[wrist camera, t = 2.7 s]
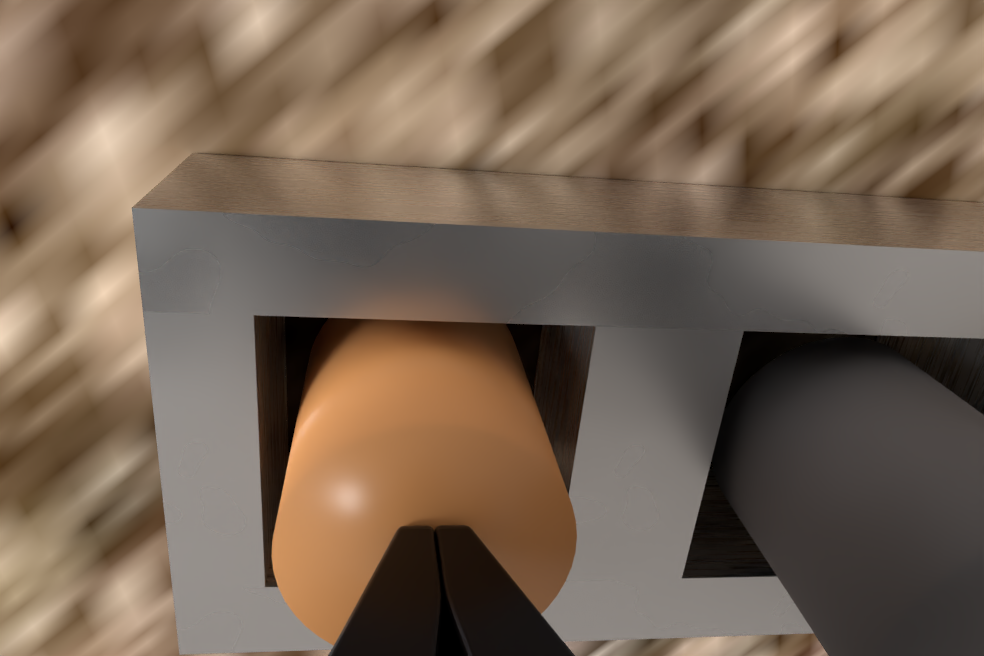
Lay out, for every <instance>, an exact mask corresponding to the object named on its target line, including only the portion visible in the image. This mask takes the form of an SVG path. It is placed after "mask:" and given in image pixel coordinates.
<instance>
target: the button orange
mask: <svg viewBox="0 0 984 656" xmlns="http://www.w3.org/2000/svg"><path fill="white" fill-rule="evenodd" d="M426 525H428V526H431V527H432V528H433V530H434V531H435V529H436V527H438V526H440V525H466V526H469V527H470V528H472V529H473V531H474V532H475V533H476V534H477V536H478V537H479V538H480V539H481V541H482V542H483V543H484V544H485V546H486V547H487V548H488V549H489V550H490V552H491V553H492V554H493V555H494V557H495V558H496V559H497V560H498V562H499V563H500V564H501V565H502V567H503V568H504V569H505V570H506V571H507V573H508V574H509V575H510V576H511V578H512V579H513V580H514V581H515V583H516V584H517V585H518V586H519V587H520V589H521V590H522V591H523V592H524V594H525V595H526V596H527V597H528V599H529V600H530V601H531V602H532V604H533V605H534V606H535V607H536V608H537V610H538V611H539V612H540V613H541V614H542V613H543V612H544V611H545V610H546V609H547V608H548V606H549V605H550V604H551V603H552V601H553V600H554V599H555V598H556V596H557V595H558V593H559V592H560V590H561V588H562V587H563V585H564V583H565V582H566V579H567V577H568V575H569V572H570V570H571V567H572V564H573V560H574V556H575V552H576V542H577V529H576V519H575V515H574V511H573V507H572V504H571V501H570V498H569V495H568V492H567V489H566V487H565V484H564V481H563V478H562V475H561V472H560V469H559V467H558V464H557V461H556V458H555V455H554V452H553V450H552V447H551V444H550V441H549V438H548V435H547V433H546V430H545V427H544V424H543V421H542V418H541V416H540V413H539V410H538V407H537V404H536V401H535V398H534V396H533V393H532V390H531V387H530V384H529V381H528V379H527V376H526V373H525V370H524V367H523V364H522V362H521V359H520V356H519V353H518V350H517V347H516V345H515V342H514V340H513V337H512V335H511V332H510V331H509V329H508V327H507V326H506V324H505V323H478V322H447V321H416V320H384V319H353V318H328V320H327V321H326V322H325V324H324V325H323V326H322V328H321V330H320V331H319V333H318V335H317V337H316V339H315V341H314V344H313V347H312V349H311V353H310V358H309V362H308V367H307V372H306V377H305V382H304V387H303V392H302V397H301V401H300V406H299V411H298V416H297V421H296V426H295V431H294V436H293V441H292V446H291V451H290V456H289V461H288V466H287V470H286V475H285V480H284V485H283V490H282V495H281V500H280V505H279V510H278V515H277V520H276V525H275V530H274V535H273V539H272V564H273V572H274V575H275V579H276V582H277V585H278V588H279V590H280V592H281V594H282V596H283V598H284V600H285V602H286V603H287V605H288V606H289V608H290V609H291V610H292V612H293V613H294V615H295V616H296V617H297V618H298V619H299V620H300V621H301V622H302V623H303V624H304V625H305V626H306V627H307V628H308V629H310V630H311V631H312V632H313V633H315V634H316V635H317V636H318V637H320V638H322V639H323V640H325V641H327V642H328V643H330V644H332V645H333V646H334V644H335V642H336V640H337V639H338V637H339V635H340V633H341V631H342V629H343V628H344V626H345V624H346V622H347V620H348V619H349V617H350V615H351V613H352V611H353V609H354V608H355V606H356V604H357V602H358V600H359V598H360V597H361V595H362V593H363V591H364V589H365V587H366V586H367V584H368V582H369V580H370V578H371V576H372V575H373V573H374V571H375V569H376V567H377V565H378V564H379V562H380V560H381V558H382V556H383V554H384V553H385V551H386V549H387V547H388V545H389V543H390V542H391V540H392V538H393V536H394V534H395V532H396V531H397V529H398V528H399V527H401V526H426Z"/></svg>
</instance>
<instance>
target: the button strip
mask: <svg viewBox="0 0 984 656" xmlns="http://www.w3.org/2000/svg"><path fill="white" fill-rule="evenodd" d="M132 214H133V223H134V232H135V242H136V251H137V260H138V270H139V279H140V289H141V298H142V307H143V317H144V326H145V335H146V345H147V354H148V363H149V373H150V382H151V392H152V401H153V410H154V420H155V429H156V438H157V448H158V457H159V467H160V476H161V485H162V495H163V504H164V513H165V523H166V532H167V541H168V551H169V560H170V570H171V579H172V588H173V598H174V607H175V616H176V626H177V635H178V645H179V654H180V655H182V654H212V653H241V652H271V651H301V650H330V649H332V648H333V645H332V644H330V643H328V642H327V641H325V640H323V639H322V638H320V637H318V636H317V635H316V634H315V633H313V632H312V631H311V630H310V629H308V628H307V627H306V626H305V625H304V624H303V623H302V622H301V621H300V620H299V619H298V618H297V617H296V616H295V615H294V613H293V612H292V610H291V609H290V608H289V606H288V605H287V603H286V602H285V600H284V598H283V596H282V594H281V592H280V590H279V588H278V585H277V582H276V579H275V575H274V572H273V564H272V539H273V535H274V530H275V525H276V520H277V515H278V510H279V505H280V500H281V495H282V490H283V485H284V480H285V475H286V470H287V466H288V421H287V377H286V333H285V316H290V317H322V318H353V319H384V320H416V321H447V322H478V323H510V324H541V325H542V331H541V338H540V346H539V354H538V361H537V369H536V377H535V385H534V392H533V396H534V398H535V401H536V404H537V407H538V410H539V413H540V416H541V418H542V421H543V424H544V427H545V430H546V433H547V435H548V438H549V441H550V444H551V447H552V450H553V452H554V455H555V458H556V461H557V464H558V467H559V469H560V472H561V475H562V478H563V481H564V484H565V487H566V489H567V492H568V495H569V498H570V501H571V504H572V507H573V511H574V515H575V519H576V529H577V542H576V552H575V556H574V560H573V564H572V567H571V570H570V572H569V575H568V577H567V579H566V582H565V583H564V585H563V587H562V588H561V590H560V592H559V593H558V595H557V596H556V598H555V599H554V600H553V601H552V603H551V604H550V605H549V606H548V608H547V609H546V610H545V611H544V612H543V613H542V614H541V615H542V616H543V617H544V618H545V620H546V621H547V622H548V623H549V624H550V626H551V627H552V628H553V629H554V631H555V632H556V633H557V634H558V636H559V637H560V638H561V639H562V641H563V642H568V641H597V640H627V639H657V638H686V637H716V636H746V635H775V634H805V633H814V632H813V631H812V629H811V628H810V626H809V625H808V623H807V622H806V620H805V618H804V617H803V615H802V614H801V612H800V611H799V609H798V608H797V606H796V605H795V603H794V602H793V600H792V599H791V597H790V595H789V594H788V592H787V591H786V589H785V588H784V586H783V585H782V583H781V582H780V580H779V579H778V577H777V576H776V574H775V572H774V571H773V569H772V568H771V566H770V565H769V563H768V562H767V560H766V559H765V557H764V556H763V554H762V553H761V551H760V550H759V548H758V546H757V545H756V543H755V542H754V540H753V539H752V537H751V536H750V534H749V533H748V531H747V530H746V528H745V527H744V525H743V523H742V522H741V520H740V519H739V517H738V516H737V514H736V513H735V511H734V510H733V508H732V507H731V505H730V504H729V502H728V500H727V499H726V497H725V496H724V494H723V493H722V491H721V489H720V487H719V485H718V483H717V481H716V478H715V474H714V470H709V468H710V464H711V460H712V456H713V452H714V448H715V444H716V440H717V436H718V432H719V428H720V424H721V420H722V416H723V412H724V408H725V404H726V400H727V396H728V392H729V388H730V384H731V380H732V376H733V372H734V368H735V364H736V360H737V356H738V352H739V348H740V344H741V340H742V336H743V332H744V331H761V332H792V333H824V334H855V335H878V337H877V340H876V341H877V342H879V343H882V344H884V345H886V346H889V347H890V348H892V349H893V350H895V351H897V352H898V353H900V354H901V355H902V356H904V357H905V358H906V359H908V360H909V361H911V362H912V363H913V364H915V365H916V366H917V367H919V368H920V369H921V370H923V371H924V372H926V373H927V374H928V375H930V376H931V377H932V378H934V379H935V380H937V381H938V382H939V383H941V384H942V385H943V386H945V387H946V388H947V389H949V390H950V391H952V392H953V393H954V394H956V395H957V396H958V397H960V398H961V399H962V400H964V401H965V402H967V403H968V404H969V405H971V406H972V407H973V408H975V409H976V410H978V411H979V412H980V413H982V414H983V415H984V203H980V202H964V201H948V200H932V199H916V198H900V197H884V196H868V195H852V194H836V193H820V192H804V191H788V190H772V189H757V188H741V187H725V186H709V185H693V184H677V183H661V182H645V181H629V180H613V179H597V178H581V177H565V176H549V175H533V174H517V173H501V172H485V171H469V170H454V169H438V168H422V167H406V166H390V165H374V164H358V163H342V162H326V161H310V160H294V159H278V158H262V157H246V156H230V155H214V154H198V153H192V154H191V155H190V156H189V157H188V158H186V159H185V160H184V161H183V162H182V163H181V164H180V165H179V166H178V167H177V168H175V169H174V170H173V171H172V172H171V173H170V174H169V175H168V176H167V177H165V178H164V179H163V180H162V181H161V182H160V183H159V184H158V185H157V186H155V187H154V188H153V189H152V190H151V191H150V192H149V193H148V194H147V195H145V196H144V197H143V198H142V199H141V200H140V201H139V202H138V203H137V204H136V205H134V206H133V207H132Z"/></svg>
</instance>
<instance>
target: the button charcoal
mask: <svg viewBox="0 0 984 656" xmlns="http://www.w3.org/2000/svg"><path fill="white" fill-rule="evenodd" d="M712 463H713V470H714V474H715V478H716V481H717V483H718V485H719V487H720V489H721V491H722V493H723V494H724V496H725V497H726V499H727V500H728V502H729V504H730V505H731V507H732V508H733V510H734V511H735V513H736V514H737V516H738V517H739V519H740V520H741V522H742V523H743V525H744V527H745V528H746V530H747V531H748V533H749V534H750V536H751V537H752V539H753V540H754V542H755V543H756V545H757V546H758V548H759V550H760V551H761V553H762V554H763V556H764V557H765V559H766V560H767V562H768V563H769V565H770V566H771V568H772V569H773V571H774V572H775V574H776V576H777V577H778V579H779V580H780V582H781V583H782V585H783V586H784V588H785V589H786V591H787V592H788V594H789V595H790V597H791V599H792V600H793V602H794V603H795V605H796V606H797V608H798V609H799V611H800V612H801V614H802V615H803V617H804V618H805V620H806V622H807V623H808V625H809V626H810V628H811V629H812V631H813V632H814V634H815V635H816V637H817V638H818V640H819V641H820V643H821V645H822V646H823V648H824V649H825V651H826V652H827V654H828V655H829V656H984V415H983V414H982V413H980V412H979V411H978V410H976V409H975V408H973V407H972V406H971V405H969V404H968V403H967V402H965V401H964V400H962V399H961V398H960V397H958V396H957V395H956V394H954V393H953V392H952V391H950V390H949V389H947V388H946V387H945V386H943V385H942V384H941V383H939V382H938V381H937V380H935V379H934V378H932V377H931V376H930V375H928V374H927V373H926V372H924V371H923V370H921V369H920V368H919V367H917V366H916V365H915V364H913V363H912V362H911V361H909V360H908V359H906V358H905V357H904V356H902V355H901V354H900V353H898V352H897V351H895V350H893V349H892V348H890V347H889V346H886V345H884V344H882V343H879V342H877V341H873V340H869V339H865V338H856V337H835V338H829V339H822V340H818V341H814V342H811V343H807V344H804V345H802V346H799V347H797V348H794V349H792V350H790V351H788V352H786V353H784V354H782V355H780V356H778V357H777V358H775V359H774V360H772V361H771V362H769V363H768V364H766V365H764V366H763V367H762V368H761V369H760V370H758V371H757V372H756V373H755V374H754V375H752V376H751V377H750V378H749V379H748V380H747V381H746V382H745V383H744V384H743V385H742V386H741V388H740V389H739V390H738V392H737V393H736V394H735V395H734V397H733V398H732V399H731V401H730V403H729V404H728V406H727V407H726V409H725V411H724V413H723V416H722V420H721V424H720V428H719V432H718V436H717V440H716V444H715V448H714V452H713V456H712Z"/></svg>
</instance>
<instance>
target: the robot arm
mask: <svg viewBox="0 0 984 656" xmlns="http://www.w3.org/2000/svg"><path fill="white" fill-rule="evenodd" d="M328 656H575V655H574V654H573V653H572V652H571V650H570V649H569V648H568V647H567V645H566V644H565V643H564V642H563V641H562V639H561V638H560V637H559V636H558V634H557V633H556V632H555V631H554V629H553V628H552V627H551V626H550V624H549V623H548V622H547V621H546V620H545V618H544V617H543V616H542V615H541V613H540V612H539V611H538V610H537V608H536V607H535V606H534V605H533V604H532V602H531V601H530V600H529V599H528V597H527V596H526V595H525V594H524V592H523V591H522V590H521V589H520V587H519V586H518V585H517V584H516V583H515V581H514V580H513V579H512V578H511V576H510V575H509V574H508V573H507V571H506V570H505V569H504V568H503V567H502V565H501V564H500V563H499V562H498V560H497V559H496V558H495V557H494V555H493V554H492V553H491V552H490V550H489V549H488V548H487V547H486V546H485V544H484V543H483V542H482V541H481V539H480V538H479V537H478V536H477V534H476V533H475V532H474V531H473V529H472V528H470V527H469V526H466V525H440V526H438V527H436V529H435V531H434V530H433V528H432V527H431V526H428V525H426V526H401V527H399V528H398V529H397V531H396V532H395V534H394V536H393V538H392V540H391V542H390V543H389V545H388V547H387V549H386V551H385V553H384V554H383V556H382V558H381V560H380V562H379V564H378V565H377V567H376V569H375V571H374V573H373V575H372V576H371V578H370V580H369V582H368V584H367V586H366V587H365V589H364V591H363V593H362V595H361V597H360V598H359V600H358V602H357V604H356V606H355V608H354V609H353V611H352V613H351V615H350V617H349V619H348V620H347V622H346V624H345V626H344V628H343V629H342V631H341V633H340V635H339V637H338V639H337V640H336V642H335V644H334V646H333V648H332V650H331V651H330V653H329V655H328Z"/></svg>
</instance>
